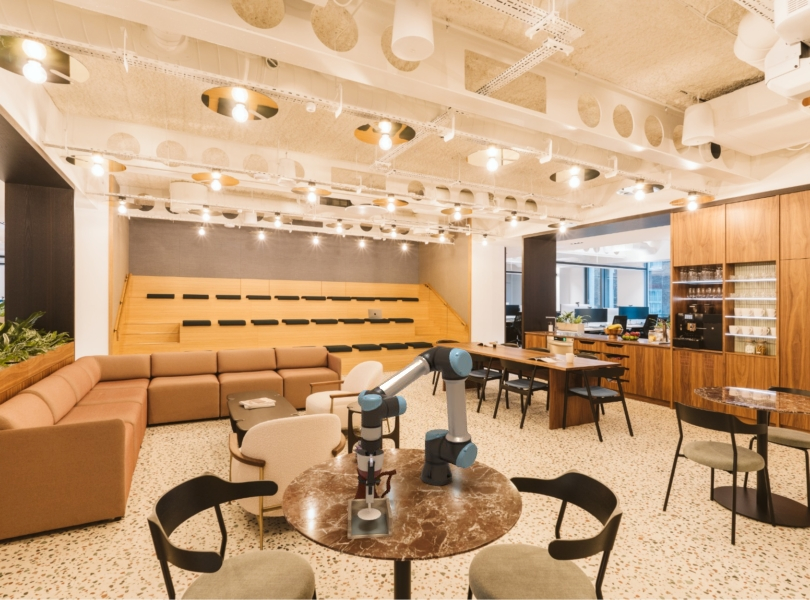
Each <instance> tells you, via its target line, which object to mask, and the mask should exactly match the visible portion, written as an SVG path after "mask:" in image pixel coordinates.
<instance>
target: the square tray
mask: <svg viewBox="0 0 810 600" xmlns="http://www.w3.org/2000/svg"><path fill="white" fill-rule="evenodd" d="M353 499H354V498H353ZM353 499H348V500H347V540H351V539H353V540H354V539H355V540H356V539H368V538H369V539H372V538H389V537H390V538H391V537H393V519H394V518H393V513H392V507H391V502H390V498H389V497H384V498H381V497H380V498H376V499H374V503H371V508H374V509H377V510H379V511H380V512H381V515H380V517H378V518H377V519H373V520H364V519H361V518H360V517H359V516H358V512H359V511H360V510H362V509H366V508H368V503H366V499H354V500H353Z"/></svg>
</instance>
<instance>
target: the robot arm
mask: <svg viewBox="0 0 810 600" xmlns="http://www.w3.org/2000/svg"><path fill="white" fill-rule="evenodd" d="M472 369H473V360H472V356H471V354H470V353H469V352H468V351H467V350H465V349H462V348H459V347H446V346H440V345H439V346H434V347H430V348H429V349H426V350H425V351H422V352H421V353H419V354H418V355H416V356H415V357H414V359H413V361H411V362H410V363H408V365H406V366H404V367H403V368H401V369H400V370H399V371H397V372H396V373H394V374H392V375H391V376H390V377H389V378H387V379H386V380H383V382H381V383H380V384H379V385H376V386H375V387H374V388H373V389H371V390H370V389H365V390H362V391H361V392H360V393H359V394H358V396H357V403H358V405H359V407H360V408H361V409H360V411H361V413H360V414H361V415H360V417H361V419H360V420H361V421H360V424H361V425H360V428H359V430H358V431H360V437H361V438H360V442H361V448H362V449H363V450H367V452H365V456H376V451H375V450H378V449H381V447H382V438H381V437H382V420H385V419H390V418H394V417H399V416H402V415H404V414H405V413H406V412H407V410H408V409H407V408H408V407H407V406H408V404H407V400H406V399H405V397H404V396H402V395H397V394H398V393H400V392H401V391H403V390H404V389H405V388H407V387H408V386H410V385H411V384H412V383H414V382H415V381H417V380H418V379H419V378H421V377H422V376H427V375H428V374H430V373H433V372H438V373H441V379H442V381H444V383H445V392H446V393H445V394H446V410H447V414H446V415H447V424H448V425H447V426H448V429H443V428H437V429H429V430H428V431H426V433H425V437H424V463H423V466H422V469H421V472H420V480H421V481H422V482H423V483H425V484H427V485H431V486H445V485H449V484H450V483H452V481H453V473H452V469H451V466H450V464H451V465H454V466H456V467H457V468H461V469H469V468H470V467H471V466H473V464H474V463H475V461H476V459H477V457H478V445H476V444H475V442H472V435H471V434H470V433H469V432H468V431H469V430H468V418H467V402H466V400H467V399H466V382H465V381H466V380H467V379H468V378H469V376H468V375H470V374H471V373H472ZM374 470H375V461H373V458H370V461H368V476H367V478H366V479H367V481H366V484H365V486H366V503H374V480H375V478H374Z"/></svg>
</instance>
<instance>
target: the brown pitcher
mask: <svg viewBox="0 0 810 600" xmlns="http://www.w3.org/2000/svg"><path fill="white" fill-rule="evenodd" d="M356 472H357V481H358V483H357V488H356V489H357V490H356V493H355V497H354V498H353V499H352V500H354V499H366V486H365V484H366V481H367V479H366V478H365V477H363V476H362V475H361V474H360V472H359V468H358V467H357V468H356ZM393 475H394V476H395V475H397V469H395V468H394V469H392V470H389V471H387V470H386V471H383V472H382V471H381V473H380V474H379V475H378V476H377V477H375V480H374V499H376V498H385V497H386V495H388V494H389V493H390V492H391V489H392V488H391V487H392V486H391V480H392V477H393ZM383 476H387V479H386V482H385V487H386V488H385V491H383V492H382V494H381V496H380V495H379V494H378V493H377V490H376V486H377V487H378V486H380V484H381V482H382V479H381V478H383Z"/></svg>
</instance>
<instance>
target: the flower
mask: <svg viewBox="0 0 810 600" xmlns="http://www.w3.org/2000/svg"><path fill="white" fill-rule="evenodd" d="M357 442H358V443H357V444H358V445H356V444H355V445H354V447H356V448H354V449H353V452H354V454H355V455H354V458H357V451H358V450H360V449H362V448H361V440H358V441H357Z"/></svg>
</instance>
